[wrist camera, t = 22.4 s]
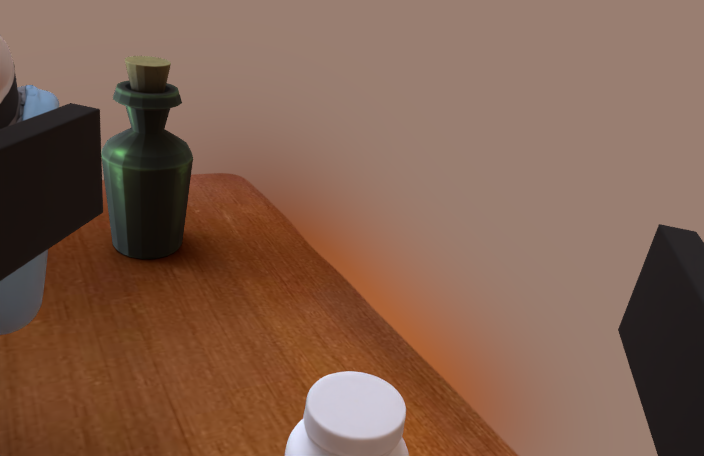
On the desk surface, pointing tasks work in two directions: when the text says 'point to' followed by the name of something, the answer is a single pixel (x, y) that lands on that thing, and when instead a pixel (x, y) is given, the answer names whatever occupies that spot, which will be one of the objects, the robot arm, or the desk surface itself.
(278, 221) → the desk surface
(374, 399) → the pill bottle
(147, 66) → the potion bottle
